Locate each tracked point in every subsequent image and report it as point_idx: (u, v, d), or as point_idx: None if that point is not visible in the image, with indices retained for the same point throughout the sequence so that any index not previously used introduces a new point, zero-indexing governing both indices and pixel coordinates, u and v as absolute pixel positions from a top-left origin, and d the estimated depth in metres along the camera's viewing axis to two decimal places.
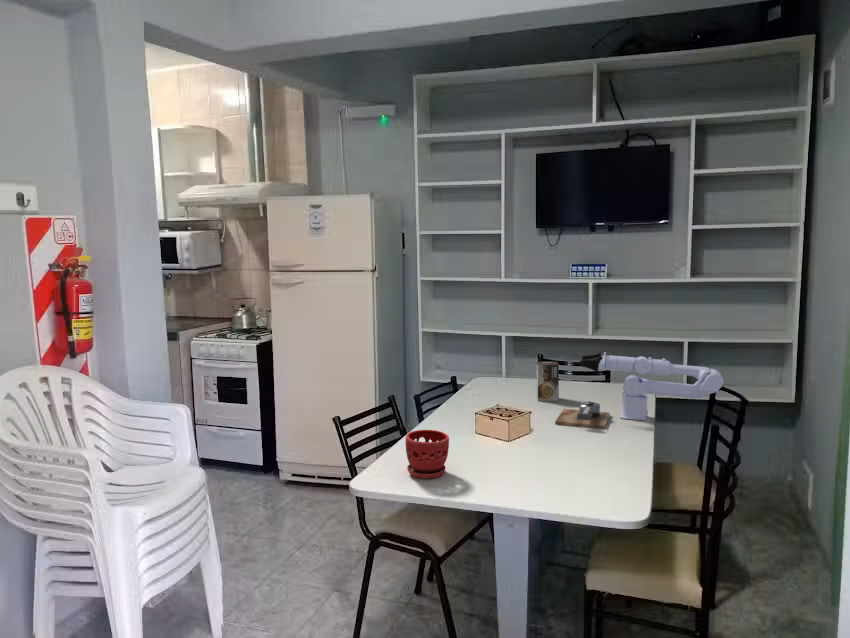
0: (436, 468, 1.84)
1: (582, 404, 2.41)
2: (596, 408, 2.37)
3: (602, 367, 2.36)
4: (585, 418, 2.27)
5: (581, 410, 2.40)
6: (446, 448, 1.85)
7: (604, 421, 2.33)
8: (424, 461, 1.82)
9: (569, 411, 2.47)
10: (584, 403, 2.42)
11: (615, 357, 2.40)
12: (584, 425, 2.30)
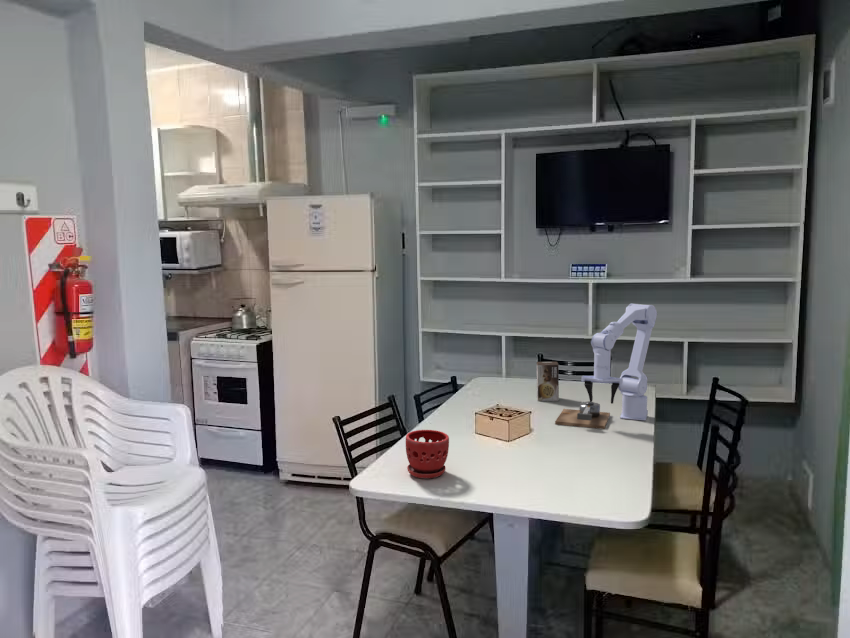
0: (436, 468, 1.84)
1: (582, 404, 2.41)
2: (596, 408, 2.37)
3: (622, 380, 2.26)
4: (585, 418, 2.27)
5: (581, 410, 2.40)
6: (446, 448, 1.85)
7: (604, 421, 2.33)
8: (424, 461, 1.82)
9: (569, 411, 2.47)
10: (584, 403, 2.42)
11: (604, 369, 2.25)
12: (584, 425, 2.30)
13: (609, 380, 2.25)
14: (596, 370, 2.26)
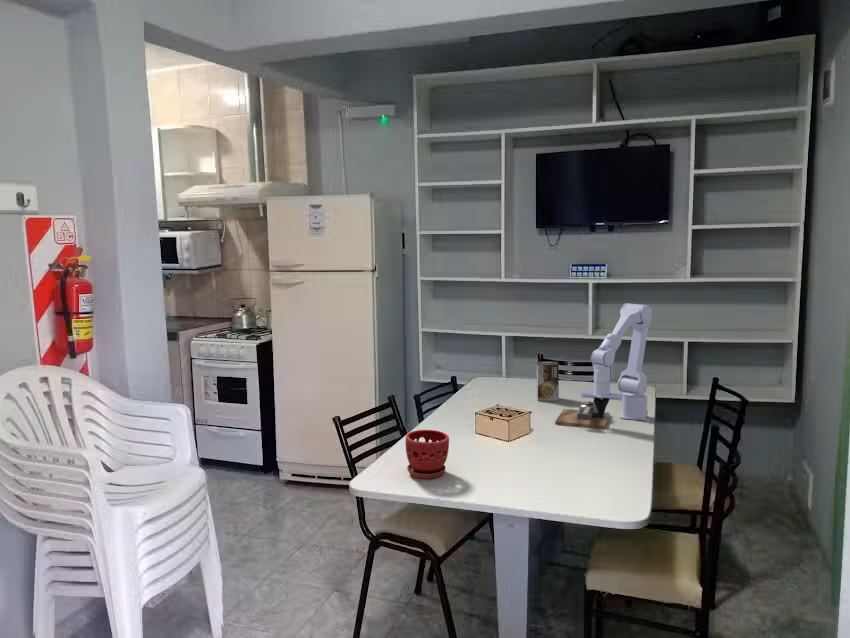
0: (436, 468, 1.84)
1: (582, 404, 2.41)
2: (596, 408, 2.37)
3: (622, 396, 2.27)
4: (585, 418, 2.27)
5: (581, 410, 2.40)
6: (446, 448, 1.85)
7: (604, 421, 2.33)
8: (424, 461, 1.82)
9: (569, 411, 2.47)
10: (584, 403, 2.42)
11: (604, 385, 2.26)
12: (584, 425, 2.30)
13: (609, 396, 2.26)
14: (596, 386, 2.27)
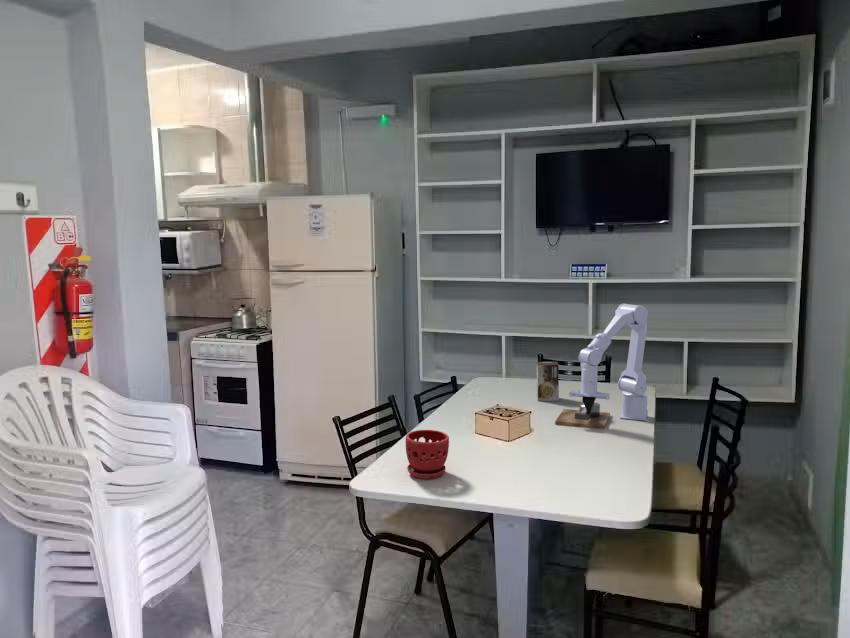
0: (436, 468, 1.84)
1: (582, 404, 2.41)
2: (595, 408, 2.37)
3: (609, 395, 2.28)
4: (582, 418, 2.28)
5: (581, 410, 2.40)
6: (446, 448, 1.85)
7: (604, 421, 2.33)
8: (424, 461, 1.82)
9: (569, 411, 2.47)
10: None
11: (591, 384, 2.27)
12: (584, 425, 2.30)
13: (596, 395, 2.28)
14: (583, 385, 2.29)
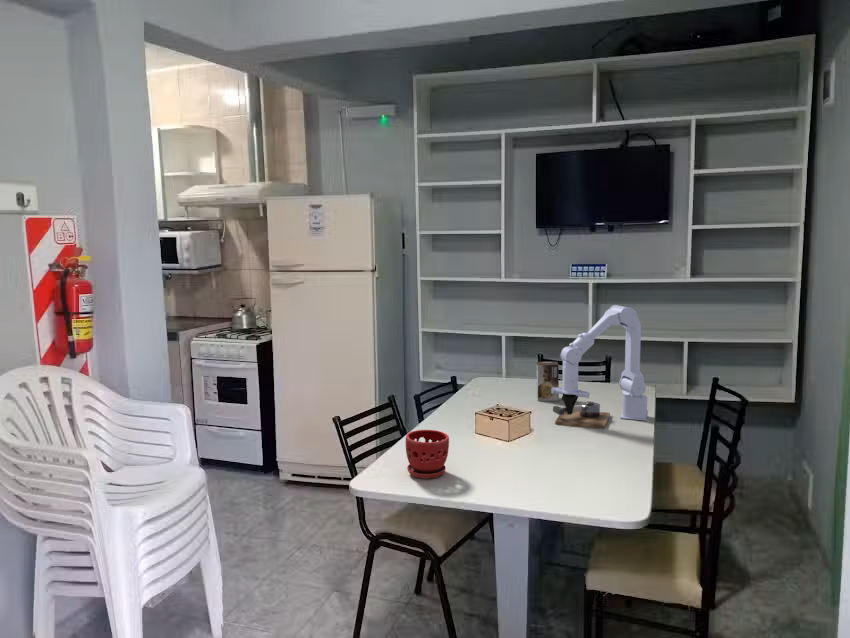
0: (436, 468, 1.84)
1: (584, 403, 2.43)
2: (587, 408, 2.37)
3: (588, 393, 2.31)
4: (556, 412, 2.36)
5: None
6: (446, 448, 1.85)
7: (604, 421, 2.33)
8: (424, 461, 1.82)
9: None
10: None
11: (570, 382, 2.31)
12: (584, 425, 2.30)
13: (575, 393, 2.31)
14: (563, 383, 2.34)
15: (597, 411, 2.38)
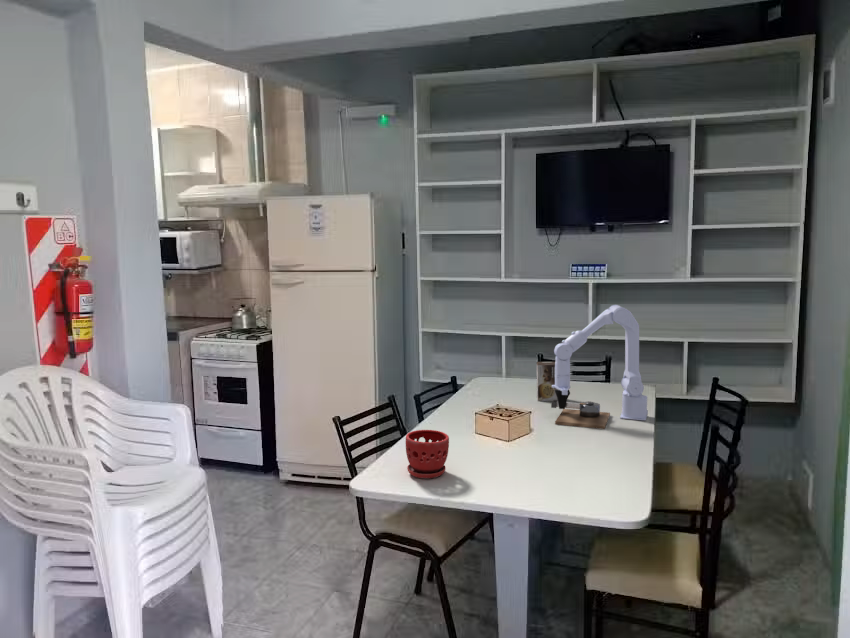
0: (436, 468, 1.84)
1: None
2: (581, 407, 2.39)
3: (565, 391, 2.35)
4: None
5: None
6: (446, 448, 1.85)
7: (604, 421, 2.33)
8: (424, 461, 1.82)
9: (569, 411, 2.47)
10: None
11: (556, 376, 2.40)
12: (584, 425, 2.30)
13: (557, 388, 2.39)
14: None
15: (591, 412, 2.37)
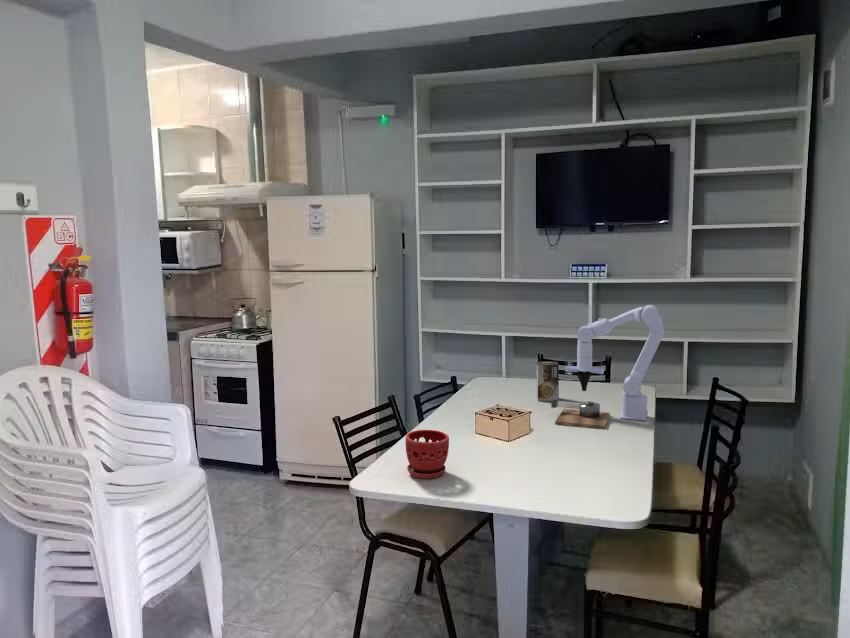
0: (436, 468, 1.84)
1: None
2: (581, 407, 2.39)
3: (603, 369, 2.43)
4: None
5: None
6: (446, 448, 1.85)
7: (604, 421, 2.33)
8: (424, 461, 1.82)
9: (569, 411, 2.47)
10: None
11: (586, 359, 2.42)
12: (584, 425, 2.30)
13: (591, 370, 2.42)
14: (579, 361, 2.44)
15: (591, 412, 2.37)
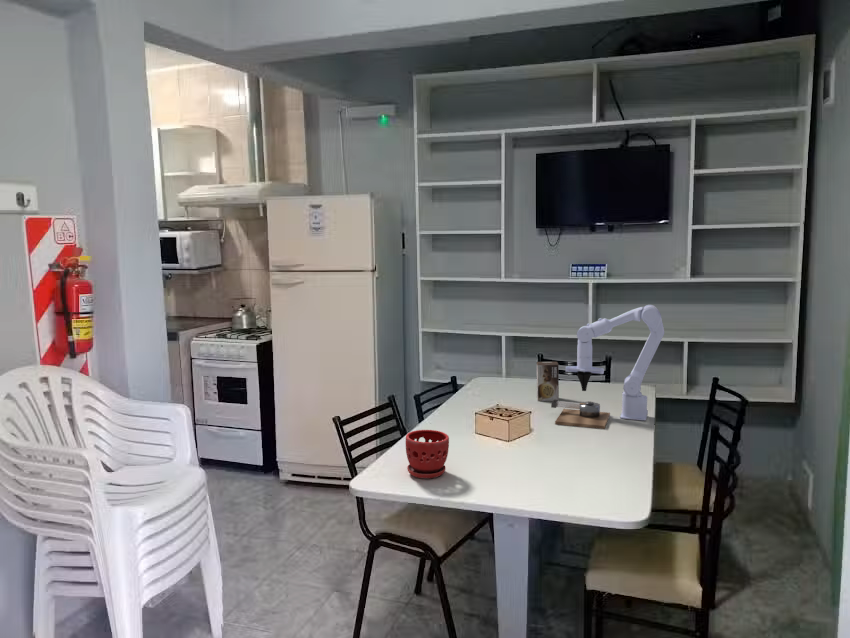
0: (436, 468, 1.84)
1: None
2: (581, 407, 2.39)
3: (603, 369, 2.43)
4: None
5: None
6: (446, 448, 1.85)
7: (604, 421, 2.33)
8: (424, 461, 1.82)
9: (569, 411, 2.47)
10: None
11: (586, 359, 2.42)
12: (584, 425, 2.30)
13: (591, 370, 2.42)
14: (579, 361, 2.44)
15: (591, 412, 2.37)
